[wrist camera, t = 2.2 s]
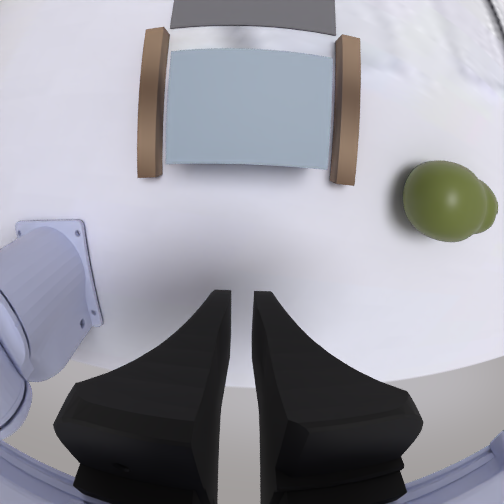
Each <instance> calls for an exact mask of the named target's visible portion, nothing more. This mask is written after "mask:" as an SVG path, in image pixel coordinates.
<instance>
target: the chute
mask: <svg viewBox="0 0 504 504" xmlns="http://www.w3.org/2000/svg"><path fill="white" fill-rule="evenodd" d="M169 36H170V34H169V33H168V32H167V30H166V29H165V28H164V27H160V28H153V29H146V33H145V40H144V47H143V56H142V65H141V76H140V88H139V104H138V131H137V173H138V178H148V177H157V176H160V175H162V142H163V110H164V91H165V77H166V65H167V55H168V45H169ZM360 88H361V59H360V38H356V37H352V36H347V35H343V34H342V35H341V36H340V37H339V38H338V39H337V40H336V73H335V109H334V129H333V145H332V159H331V171H330V181H332V182H334V183H336V184H343V185H353V186H354V184H355V174H356V163H357V151H358V137H359V119H360Z"/></svg>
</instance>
